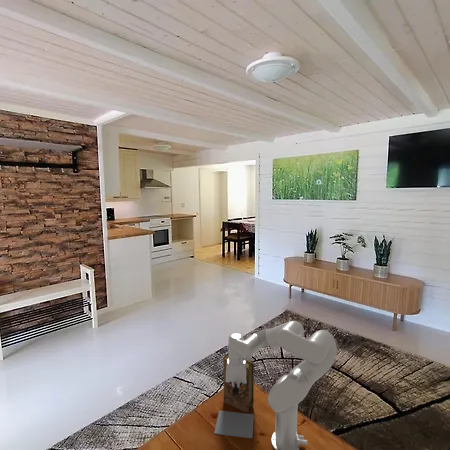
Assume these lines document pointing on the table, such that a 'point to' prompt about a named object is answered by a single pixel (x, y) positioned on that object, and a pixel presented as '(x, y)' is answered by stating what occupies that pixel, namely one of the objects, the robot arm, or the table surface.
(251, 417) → the mat
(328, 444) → the table surface
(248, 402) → the book
